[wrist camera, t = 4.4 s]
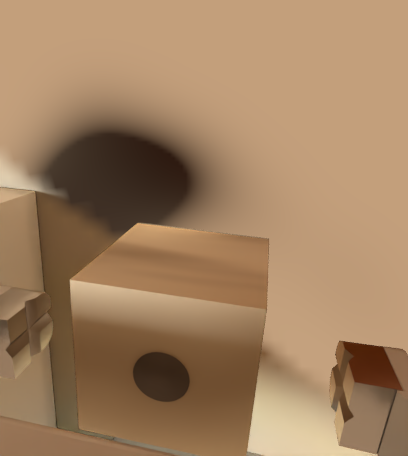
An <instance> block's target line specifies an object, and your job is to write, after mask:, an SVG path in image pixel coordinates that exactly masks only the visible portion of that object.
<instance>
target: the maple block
mask: <svg viewBox="0 0 408 456" xmlns="http://www.w3.org/2000/svg"><path fill="white" fill-rule="evenodd" d="M268 252H269V238H261V237H252V236H244V235H237V234H228V233H220V232H212V231H204V230H196V229H187V228H179V227H171V226H163V225H155V224H146V223H137V224H136V225H135V226H133V227H132V228H131V229H130V230H129V231H127V232H126V233H125V234H124V235H123V236H121V237H120V238H119V239H118V240H117V241H115V242H114V243H113V244H112V245H111V246H109V247H108V248H107V249H106V250H105V251H103V252H102V253H101V254H100V255H99V256H97V257H96V258H95V259H94V260H93V261H91V262H90V263H89V264H88V265H87V266H85V267H84V268H83V269H82V270H81V271H79V272H78V273H77V274H76V275H75V276H73V277H72V278H71V279H70V294H71V311H72V327H73V343H74V359H75V375H76V391H77V407H78V423H79V429H81V430H85V431H90V432H94V433H99V434H104V435H108V436H113V437H117V438H122V439H127V440H131V441H136V442H140V443H145V444H149V445H154V446H159V447H163V448H168V449H172V450H177V451H182V452H186V453H191V454H195V455H200V456H246V455H247V448H248V440H249V433H250V426H251V419H252V412H253V405H254V397H255V390H256V383H257V376H258V369H259V362H260V354H261V347H262V340H263V333H264V326H265V318H266V311H267V286H268V254H269V253H268Z"/></svg>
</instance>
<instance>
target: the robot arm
mask: <svg viewBox="0 0 408 456" xmlns="http://www.w3.org/2000/svg"><path fill="white" fill-rule="evenodd" d="M50 308H51V299H50V296H49V295H48V294H47V293H44V292H39V291H33V290H28V289H22V288H15V287H12V286H5V285H0V377H5V378H11V379H16V378H17V377H18V376H19V375H20V374H21V373H22V372H23V370H24V369H25V368H26V367H27V366H28V365H29V364H30V363H31V356H33V355H35V354H38V353H40V352H42V351H43V350H44V348H45V347H46V346H47V345H48V343H49V341H50V339H51V337H52V332H53V320H52V318H51V317H50V316H49V314H48V313H47V312H48V311H49V309H50ZM335 355H336V359H337V363H338V364H337V365H336V366H335V367H333V368H332V372H331V377H330V389H329V392H330V402H331V407H332V408H333V409H334V410H335V411H336V416H335V420H334V423H335V428H336V433H337V439H338V444H339V446H343V447H347V448H352V449H356V450H360V451H365V452H369V453H373V454H377V455H378V456H408V355H407V353H406V352H405V351H404V350H403V349H398V348H391V347H383V346H374V345H366V344H359V343H352V342H345V341H339V343H338V346H337V349H336V354H335ZM0 456H180V455H175V454H171V453H166V452H162V451H157V450H153V449H148V448H144V447H139V446H135V445H130V444H126V443H121V442H117V441H112V440H108V439H103V438H99V437H94V436H90V435H85V434H81V433H76V432H72V431H67V430H63V429H58V428H54V427H49V426H45V425H40V424H36V423H31V422H27V421H22V420H18V419H13V418H9V417H4V416H0Z"/></svg>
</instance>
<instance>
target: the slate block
mask: <svg viewBox="0 0 408 456" xmlns="http://www.w3.org/2000/svg"><path fill="white" fill-rule="evenodd" d="M113 441H117V442H121V443H126V444H130V445H135V446H139V447H144V448H148V449H153V450H157V451H162V452H166V453H171V454H175V455H180V456H200V455H195V454H191V453H186V452H182V451H177V450H172V449H168V448H163V447H159V446H154V445H149V444H145V443H140V442H136V441H131V440H127V439H122V438H117V437H114V439H113ZM246 456H261V455H260V454H255V453H251V452H247V455H246Z"/></svg>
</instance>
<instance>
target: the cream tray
mask: <svg viewBox="0 0 408 456" xmlns="http://www.w3.org/2000/svg"><path fill="white" fill-rule="evenodd" d="M0 285H5V286H12V287H15V288H22V289H28V290H33V291H39V292H44V282H43V271H42V260H41V249H40V238H39V227H38V216H37V205H36V194H35V191H29V190H20V189H11V188H2V187H0ZM0 416H4V417H9V418H13V419H18V420H22V421H27V422H31V423H36V424H40V425H45V426H49V427H54V428H57V426H56V415H55V404H54V393H53V382H52V371H51V360H50V349H49V343H48V345H47V346H46V347H45V348H44V350H43V351H42V352H40V353H38V354H35V355H33V356H31V363H30V364H29V365H28V366H27V367H26V368H25V369H24V370H23V372H22V373H21V374H20V375H19V376H18V377H17V378H16V379H11V378H5V377H0Z"/></svg>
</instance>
